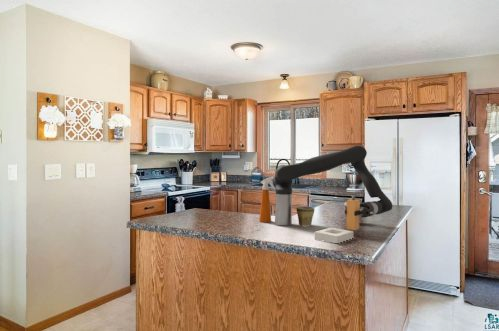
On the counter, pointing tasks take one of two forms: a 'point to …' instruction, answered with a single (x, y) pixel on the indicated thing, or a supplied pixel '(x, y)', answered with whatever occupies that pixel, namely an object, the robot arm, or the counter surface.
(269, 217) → the spray bottle
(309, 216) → the olive green flower pot
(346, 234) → the socket
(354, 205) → the plug
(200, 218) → the counter surface
